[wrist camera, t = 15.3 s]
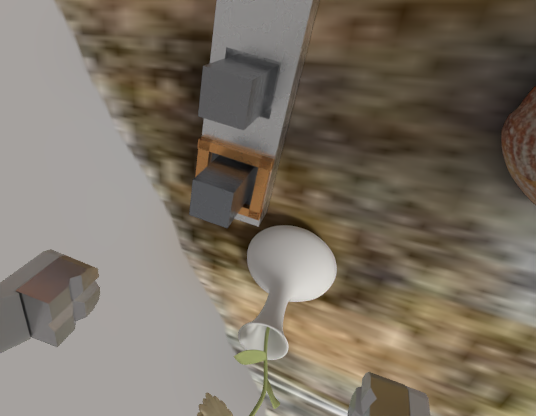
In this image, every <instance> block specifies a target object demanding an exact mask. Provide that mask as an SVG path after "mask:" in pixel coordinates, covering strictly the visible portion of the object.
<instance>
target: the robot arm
mask: <svg viewBox="0 0 536 416" xmlns="http://www.w3.org/2000/svg"><path fill="white" fill-rule="evenodd" d="M98 277H99V274H98V269H97V268H95V267H92V266H90V265H88V264H85V263H83V262H81V261H78V260H75V259H73V258H71V257H68V256H66V255H64V254H61V253H59V252H56V251H54V250H47V251H44V252H42V253H41V254H40V255H38V256H37V257H35V258H34V259H33V260H31V261H30V262H28V263H27V264H26V265H24V266H23V267H21V268H20V269H19V270H17V271H16V272H14V273H13V274H12V275H10V276H9V277H7V278H6V279H5V280H3V281H2V282H1V283H0V353H2V352H4V351H6V350H8V349H10V348H12V347H14V346H16V345H19V344H21V343H23V342H25V341H27V340H29V339H30V337H32V338H35V339H37V340H40V341H43V342H45V343H48V344H50V345H53V346H56V347H58V346H59V345H60V344H61V343H62V342H63V341H64V340H65V339H66V338H67V337H68V335H69V334H71V333H72V332H73V330H74V329H75V325H76V321H78V320H80V319H83V318H85V317H87V316H88V315H89V314H90V312H91V311H92V310H93V309H94V307H95V305H96V304H97V302H98V300H99V295H100V287H99V286H98V284H97V283H96V281H95V280H96V279H97V278H98ZM348 416H430V409H429V401H428V397H427V395H426V394H425V393H423V392H421V391H418V390H415V389H413V388H410V387H407V386H405V385H403V384H401V383H398V382H395V381H393V380H390V379H387V378H384V377H382V376H379V375H376V374H373V373H371V372H368V373H366V374H365V376H364V377H363V379H362V387H358V388H356V390H355V392H354V393H353V395H352V398H351V401H350V404H349V410H348Z"/></svg>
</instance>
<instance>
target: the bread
mask: <svg viewBox="0 0 536 416" xmlns="http://www.w3.org/2000/svg"><path fill="white" fill-rule="evenodd" d="M501 143H502V152H503V156H504V159H505V163H506V166H507V168H508V171H509V173H510V174H511V176H512V178H513V179H514V180H515V182H516V184H517V185H518V186H519V187H520V189H521V190H522V191H523V193H524V194H525V195H526V196H527V197H528V198H529V199H530V200H531V201H532V202H533V203H534V204H535V205H536V86H535V87H534V88H533V89H532V90H531V91H530V92H529V94H528V95H527V96H526V97H525V99H524V100H523V101H522V103H521V104H520V106H519V107H518V108H517V109H516V110H515V111H514V112H512V113H510V114H509V116H508V118H507V119H506V121H505V123H504V125H503V128H502V131H501Z"/></svg>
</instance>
